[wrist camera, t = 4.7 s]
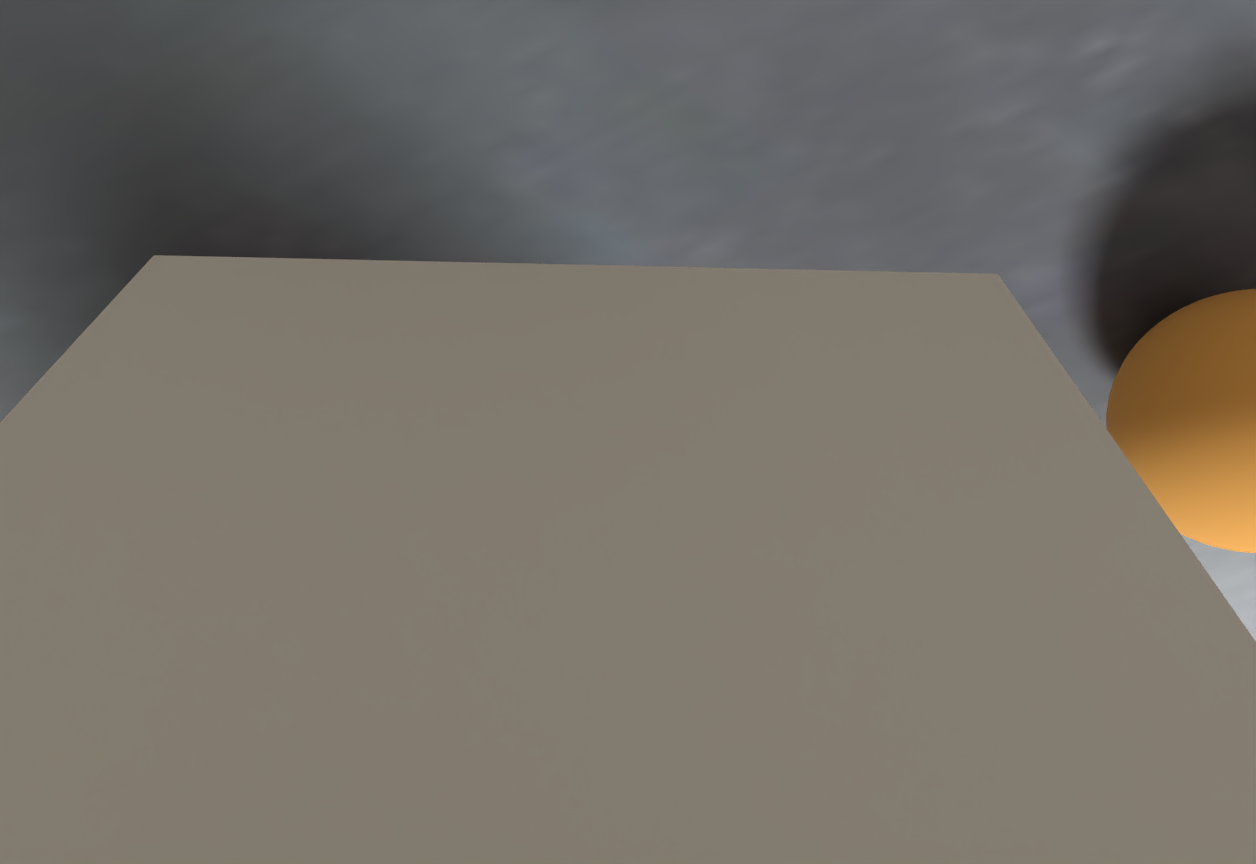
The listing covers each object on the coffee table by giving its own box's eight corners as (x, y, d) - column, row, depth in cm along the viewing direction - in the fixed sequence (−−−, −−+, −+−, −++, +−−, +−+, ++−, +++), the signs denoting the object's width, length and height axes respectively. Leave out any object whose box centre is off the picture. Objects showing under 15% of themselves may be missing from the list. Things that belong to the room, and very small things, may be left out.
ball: (1257, 452, 22) (1396, 614, 18) (1039, 443, 22) (1130, 604, 18) (1364, 250, 19) (1559, 389, 15) (1114, 237, 19) (1244, 374, 15)
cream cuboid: (862, 787, 13) (1031, 1525, 8) (296, 779, 13) (59, 1522, 8) (997, 273, 9) (1592, 1120, 4) (154, 255, 9) (-626, 1102, 3)
